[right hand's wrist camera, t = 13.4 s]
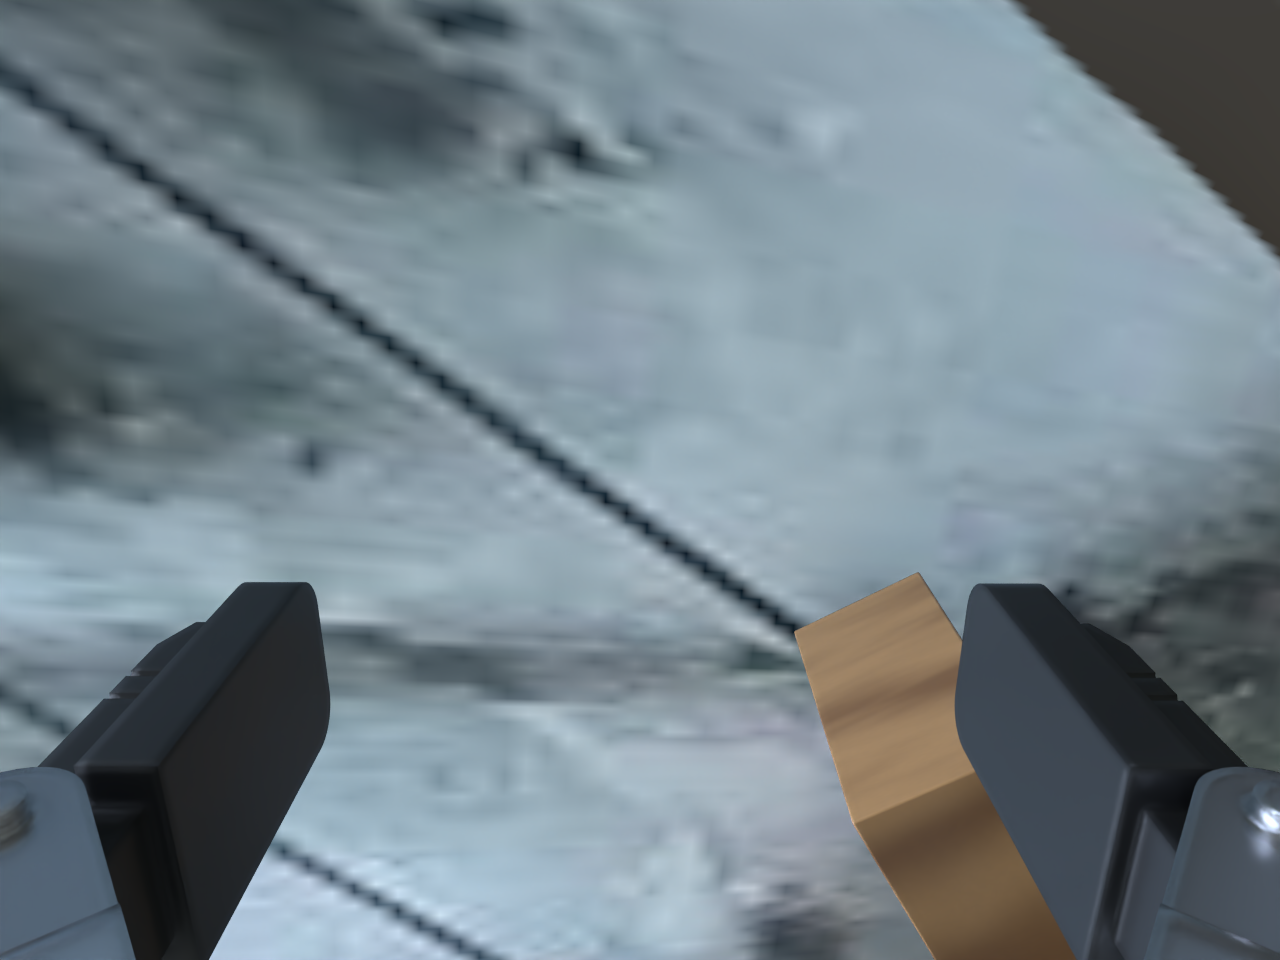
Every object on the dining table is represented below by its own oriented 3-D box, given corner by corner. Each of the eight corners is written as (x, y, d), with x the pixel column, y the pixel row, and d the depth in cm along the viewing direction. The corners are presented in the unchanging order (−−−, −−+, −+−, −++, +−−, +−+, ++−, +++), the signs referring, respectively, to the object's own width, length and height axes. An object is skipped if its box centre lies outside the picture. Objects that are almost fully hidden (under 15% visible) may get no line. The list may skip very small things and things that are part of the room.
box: (793, 631, 40) (852, 823, 29) (918, 570, 39) (1030, 746, 28) (1023, 1028, 48) (1138, 1298, 37) (1131, 987, 47) (1283, 1253, 36)
